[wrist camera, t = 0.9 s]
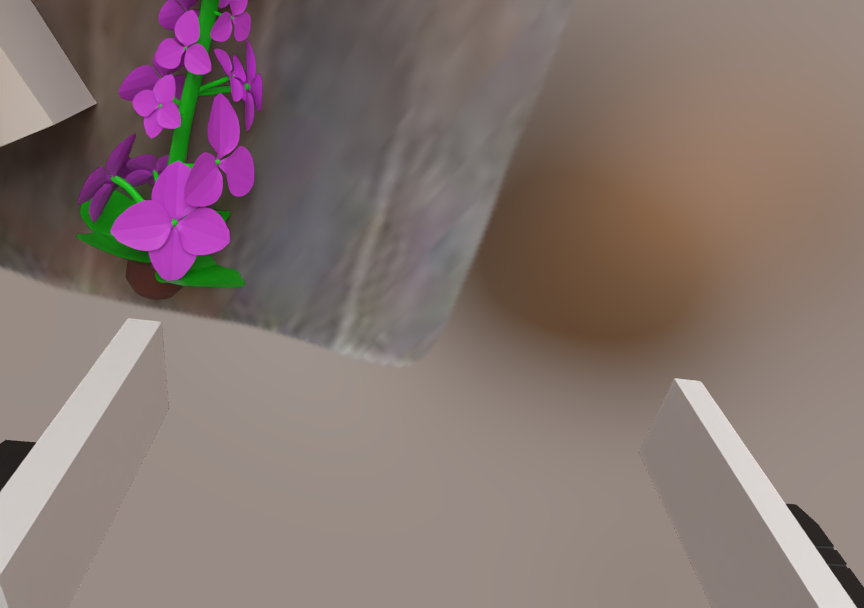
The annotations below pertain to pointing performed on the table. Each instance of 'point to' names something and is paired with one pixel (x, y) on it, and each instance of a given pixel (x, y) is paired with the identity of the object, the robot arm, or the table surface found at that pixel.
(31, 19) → the switch box
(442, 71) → the table surface
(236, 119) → the potted plant
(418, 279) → the table surface
